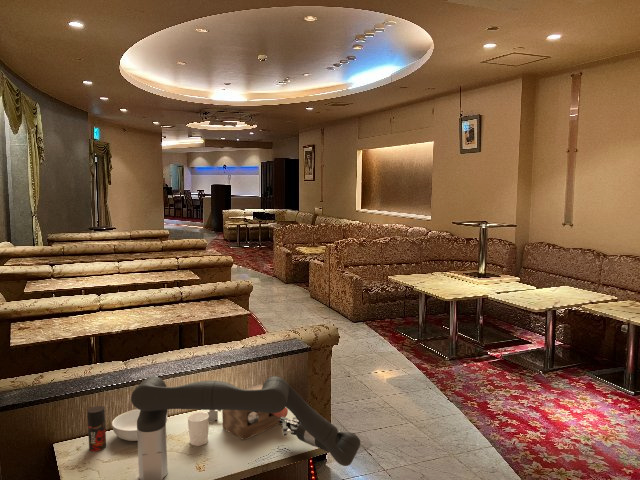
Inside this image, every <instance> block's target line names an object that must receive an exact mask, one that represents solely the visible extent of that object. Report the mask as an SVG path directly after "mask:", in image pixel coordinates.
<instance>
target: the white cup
mask: <svg viewBox="0 0 640 480" xmlns="http://www.w3.org/2000/svg"><path fill="white" fill-rule="evenodd" d="M187 428H188V436H189V443H190V445H192V446H196V447H197V446H203V445H205V444H207V443H208V442H209V428H210V427H209V415H208V412H204V411H203V412H201V411H200V412H195V413H191V414H190V415H188V416H187Z"/></svg>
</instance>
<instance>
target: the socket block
mask: <svg viewBox="0 0 640 480" xmlns="http://www.w3.org/2000/svg"><path fill="white" fill-rule="evenodd" d="M262 387H263V384H262V383H259V384H256V385H253V386H251V387H248V388H244V389H245V390H259V389H262ZM221 411H222V416H221V417H222V429H223V430H224V429H225V430H224V431H226V430H227V431H226V432H228V431H229V432H228V433H230V434H232V435H234V436H236V437H238V438H239V437H240V439H241V440H244V441H245V440H246V439H249V438H251V437H254V436H256V435H257V434H261V433H263V432H265V431H266V430H270V429H272V428H273V427H276V426H277V425H280V423H279V418H280V417H277V416H275V415H273V414H271V413H263V412H256V413H258V415H259V419H258V421H257V422H256V423H255V424H251V423H249V422H247V413H249V412H251V411H246V410H221ZM254 412H255V411H254Z"/></svg>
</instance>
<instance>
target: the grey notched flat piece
mask: <svg viewBox="0 0 640 480" xmlns="http://www.w3.org/2000/svg"><path fill="white" fill-rule="evenodd" d="M206 411H207V412H206V413H207V414H208V415H209V421H212V422H216V421H215V420H218V421H219V413H218V412H221V411H222V410H206Z"/></svg>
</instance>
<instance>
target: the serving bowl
mask: <svg viewBox="0 0 640 480" xmlns="http://www.w3.org/2000/svg"><path fill="white" fill-rule="evenodd" d="M139 414H140V410H139V409H137V408H136V409H132V410H131V409H130V410H129V411H126V412H123V413H121V414H119V415H117V416H116V417H115V418H114V419H113V420H112V422H111V427H112V430H113V432H114V434H115V435H116V436H117V437H118V438H119V439H122V440H124V441H131V442H132V441H137V442H138V439H137V419H138V417H139ZM167 421H168V414H167V416H166V423H167Z"/></svg>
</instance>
